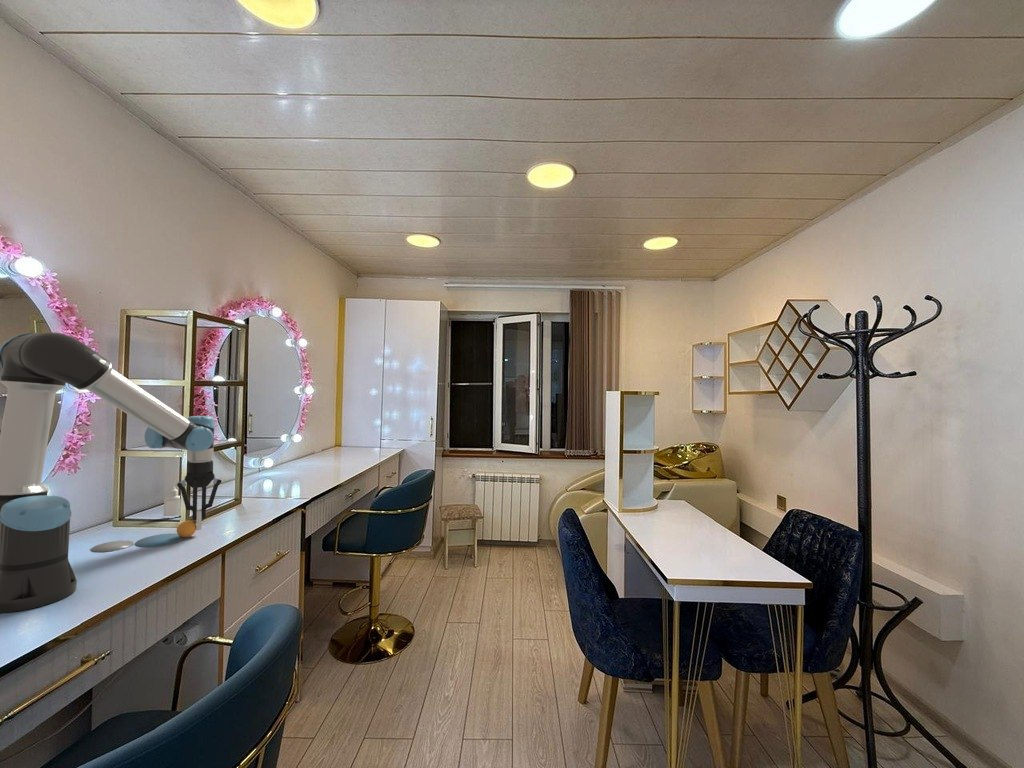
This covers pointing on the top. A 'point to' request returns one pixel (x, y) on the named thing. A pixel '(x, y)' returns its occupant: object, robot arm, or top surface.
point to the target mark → (159, 540)
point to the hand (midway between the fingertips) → (198, 528)
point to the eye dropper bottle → (172, 503)
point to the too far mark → (112, 546)
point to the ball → (186, 529)
